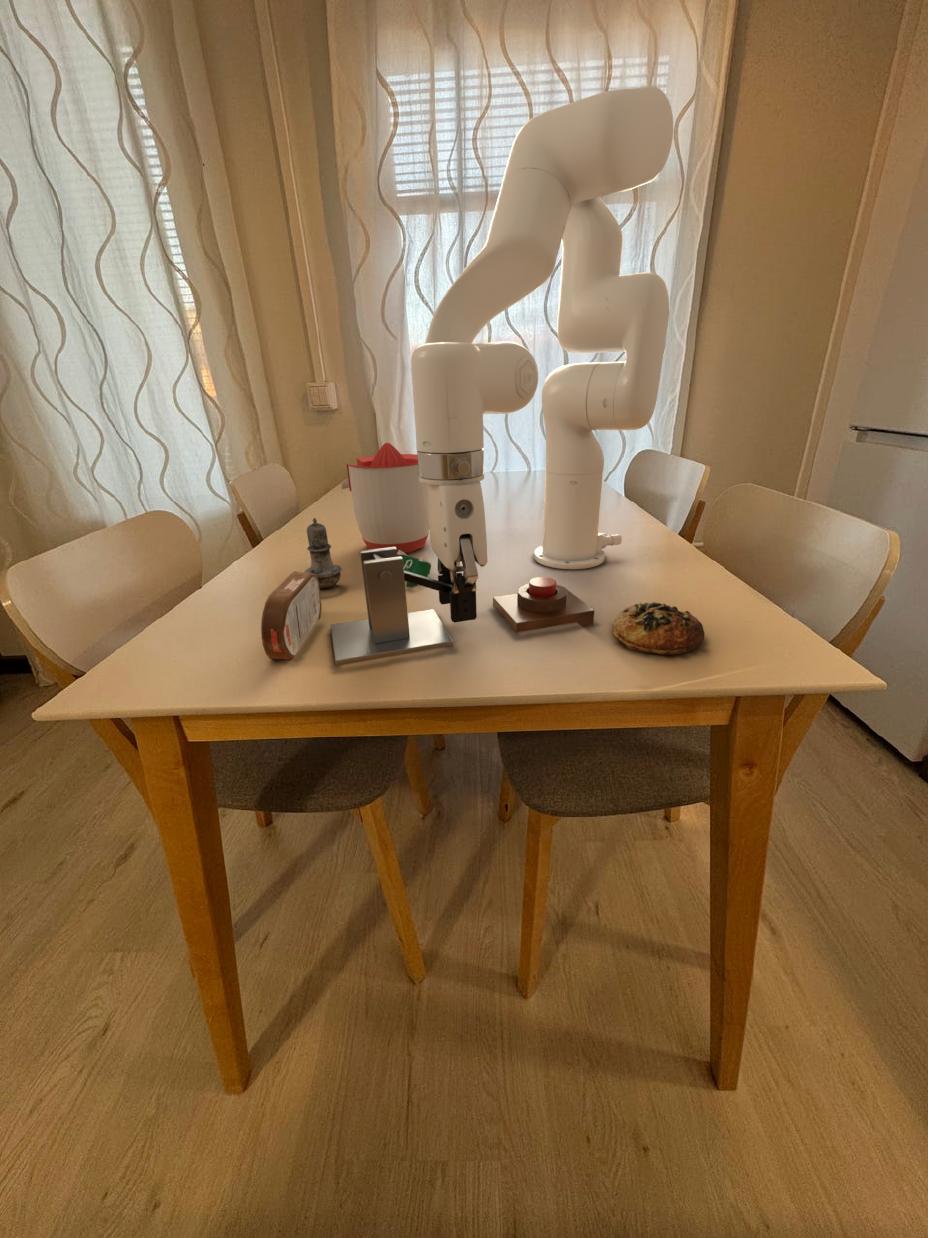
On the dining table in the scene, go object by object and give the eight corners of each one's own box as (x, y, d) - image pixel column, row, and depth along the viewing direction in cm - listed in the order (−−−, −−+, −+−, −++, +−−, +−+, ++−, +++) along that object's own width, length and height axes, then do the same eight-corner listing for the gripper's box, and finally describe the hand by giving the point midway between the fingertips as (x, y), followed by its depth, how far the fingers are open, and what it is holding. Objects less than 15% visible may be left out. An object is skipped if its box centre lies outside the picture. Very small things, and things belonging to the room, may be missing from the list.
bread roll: (724, 650, 59) (726, 612, 57) (635, 672, 58) (633, 634, 56) (673, 615, 69) (673, 581, 67) (597, 633, 68) (594, 599, 66)
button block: (562, 600, 74) (564, 574, 73) (593, 625, 67) (595, 597, 65) (492, 611, 72) (492, 585, 70) (516, 638, 64) (516, 610, 62)
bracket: (434, 618, 70) (428, 536, 65) (453, 651, 61) (448, 560, 56) (332, 634, 67) (318, 549, 61) (337, 672, 58) (321, 576, 53)
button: (548, 587, 70) (549, 575, 69) (560, 596, 66) (561, 584, 66) (524, 590, 69) (524, 578, 68) (535, 600, 66) (535, 588, 65)
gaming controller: (422, 598, 81) (440, 566, 82) (408, 587, 78) (427, 555, 79) (386, 585, 87) (403, 556, 88) (372, 575, 84) (389, 544, 85)
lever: (452, 594, 66) (459, 577, 66) (463, 608, 62) (470, 591, 61) (365, 568, 62) (371, 550, 61) (370, 581, 57) (377, 562, 57)
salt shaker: (335, 599, 77) (323, 523, 72) (300, 597, 78) (286, 522, 73) (350, 585, 82) (340, 513, 77) (318, 583, 84) (305, 512, 78)
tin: (307, 617, 72) (296, 562, 68) (328, 617, 71) (319, 561, 68) (266, 673, 58) (250, 607, 54) (293, 673, 58) (279, 607, 54)
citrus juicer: (363, 535, 109) (351, 438, 101) (441, 535, 107) (436, 436, 98) (337, 558, 96) (321, 448, 87) (426, 559, 93) (419, 446, 84)
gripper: (509, 475, 51) (508, 634, 58) (461, 454, 65) (466, 584, 73) (437, 481, 49) (446, 645, 57) (405, 459, 64) (415, 591, 71)
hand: (457, 609), depth 65 cm, fingers closed on lever, 5 cm apart
